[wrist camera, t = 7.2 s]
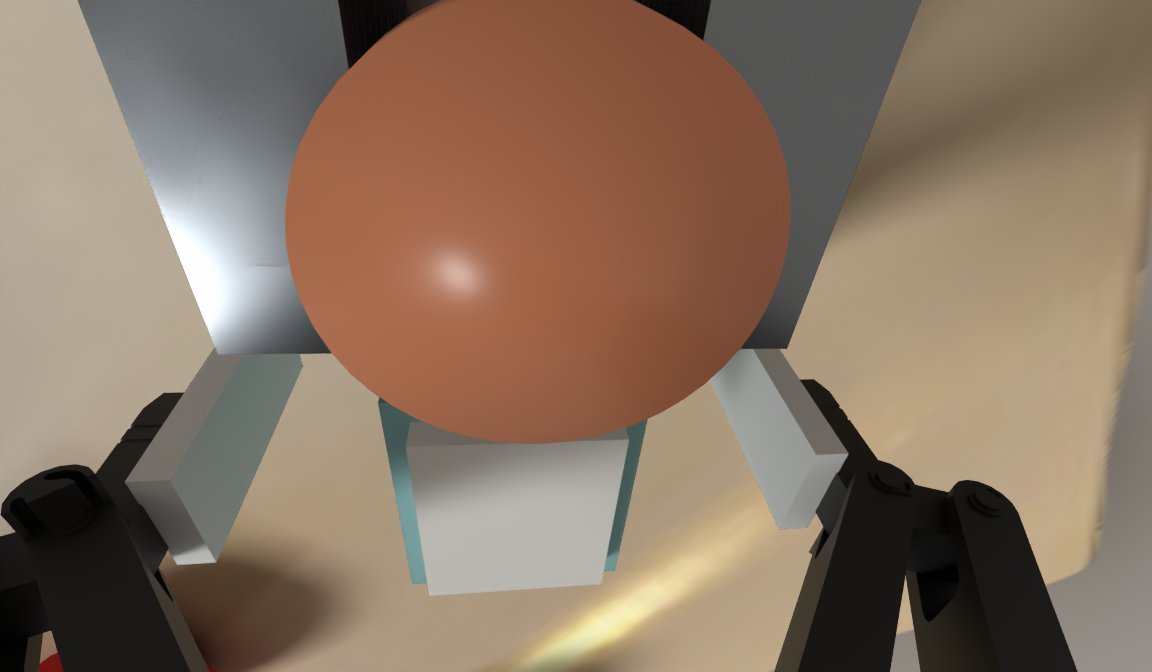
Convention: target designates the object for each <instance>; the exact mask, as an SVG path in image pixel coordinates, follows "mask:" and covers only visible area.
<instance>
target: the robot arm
mask: <svg viewBox="0 0 1152 672" xmlns="http://www.w3.org/2000/svg"><path fill="white" fill-rule="evenodd" d="M302 367H303V365H302V361H301V358H300V354H218V353H217V351H216V348H214V349H213V351H212V352H211V354H210V355H209V357H208V358H207V360H206V361H205V363H204V364H203V366H202V367H201V369H200V370H199V371H198V373H197V374H196V376H195V377H194V379H193V380H192V382H191V383H190V385H189V386H188V388H187V389H186V391H185V392H184V393H163V394H162V395H161V396H159V397H158V398H157V399H155V400H154V401H153V402H151V403H150V404H149V405H147V406H146V407H145V408H143V410H142V411H141V412H140V414H139V415H138V416H137V418H136V419H135V421H134V422H133V423H132V425H131V429H128V430H127V431H126V433H125V434H124V436H123V437H122V438H121V442H120V443H118V444H117V445H116V447H115V448H114V449H113V451H112V452H111V453H110V455H109V456H108V457H107V459H106V460H105V462H104V463H103V464H102V466H101V467H100V468H99V470H98V471H97V473H96V474H95V473H94V472H93V471H92V470H91V469H90V468H89V467H86V466H81V465H76V464H75V465H65V466H58V467H55V468H52V469H49V470H46V471H43V472H41V473H39V474H37V475H35V476H33V477H31V478H29V479H27V480H25V481H24V482H23V483H21V484H20V485H19V486H18V487H16V488H15V489H14V490H13V491H11V492H10V494H9V495H8V497H7V498H6V499H5V501H4V502H3V503H2V508H1V516H2V517H3V518H4V519H5V520H6V521H7V522H8V523H9V525H10V526H11V527H12V528H13V529H14V530H15V531H16V532H15V533H11V534H8V535H4V536H0V672H39V663H40V654H41V646H42V637H43V633H44V632H47V631H50V630H51V631H52V634H53V638H54V641H55V644H56V648H57V651H58V655H59V658H60V661H61V665H62V668H63V672H209V670H208V668H207V665H206V663H205V661H204V659H203V657H202V655H201V653H200V651H199V649H198V646H197V644H196V642H195V640H194V638H193V636H192V634H191V632H190V630H189V627H188V625H187V623H186V621H185V619H184V617H183V615H182V613H181V611H180V608H179V606H178V604H177V602H176V600H175V598H174V596H173V594H172V592H171V589H170V587H169V585H168V583H167V581H166V579H165V577H164V575H163V573H162V572H161V570H160V569H159V565H160V563H161V562H162V560H163V558H164V556H165V554H166V552H167V550H168V551H169V552H170V554H171V555H172V557H173V558H174V560H175V562H176V563H177V565H183V564H201V563H216V562H217V560H218V557H219V555H220V553H221V551H222V548H223V546H224V544H225V542H226V539H227V537H228V535H229V532H230V530H231V528H232V526H233V523H234V521H235V519H236V517H237V514H238V512H239V510H240V507H241V505H242V503H243V501H244V498H245V496H246V494H247V492H248V489H249V487H250V485H251V483H252V480H253V478H254V476H255V473H256V471H257V469H258V467H259V464H260V462H261V460H262V458H263V455H264V453H265V451H266V448H267V446H268V444H269V442H270V439H271V437H272V435H273V433H274V430H275V428H276V426H277V423H278V421H279V419H280V417H281V414H282V412H283V410H284V408H285V405H286V403H287V401H288V399H289V396H290V394H291V392H292V389H293V387H294V385H295V383H296V380H297V378H298V376H299V374H300V371H301V369H302ZM710 382H711V384H712V387H713V389H714V391H715V393H716V395H717V397H718V399H719V402H720V404H721V406H722V408H723V410H724V412H725V414H726V417H727V419H728V421H729V423H730V425H731V427H732V430H733V432H734V434H735V436H736V438H737V440H738V442H739V445H740V447H741V449H742V451H743V453H744V455H745V457H746V460H747V462H748V464H749V466H750V468H751V470H752V473H753V475H754V477H755V479H756V481H757V483H758V485H759V488H760V490H761V492H762V494H763V496H764V498H765V501H766V503H767V505H768V507H769V509H770V511H771V513H772V516H773V518H774V520H775V522H776V524H777V526H778V528H779V530H782V529H799V528H808V527H809V525H810V523H811V521H812V519H813V518H814V516H815V514H817V515H818V517H819V519H820V521H821V523H822V525H823V526H824V527H823V529H822V530H821V532H820V534H819V536H818V537H817V539H816V541H815V542H814V544H813V546H812V548H811V549H810V551H809V553H811V554H813V555H812V558H811V561H810V564H809V567H808V570H807V573H806V576H805V579H804V582H803V585H802V588H801V592H800V595H799V598H798V601H797V604H796V607H795V610H794V613H793V616H792V619H791V622H790V625H789V628H788V631H787V634H786V638H785V641H784V644H783V647H782V650H781V653H780V656H779V659H778V662H777V665H776V668H775V671H774V672H890V667H891V662H892V655H893V649H894V643H895V637H896V631H897V624H898V618H899V612H900V606H901V600H902V593H903V587H904V581H905V575H906V580H907V587H908V593H909V600H910V606H911V613H912V619H913V625H914V632H915V638H916V645H917V651H918V658H919V664H920V671H921V672H1077V669H1076V666H1075V664H1074V661H1073V658H1072V656H1071V653H1070V650H1069V648H1068V645H1067V642H1066V640H1065V637H1064V634H1063V632H1062V629H1061V626H1060V623H1059V621H1058V618H1057V615H1056V613H1055V610H1054V608H1053V605H1052V602H1051V599H1050V597H1049V594H1048V591H1047V589H1046V586H1045V583H1044V581H1043V578H1042V575H1041V573H1040V570H1039V567H1038V565H1037V562H1036V559H1035V556H1034V554H1033V551H1032V548H1031V546H1030V543H1029V540H1028V538H1027V535H1026V532H1025V530H1024V527H1023V524H1022V522H1021V519H1020V516H1019V514H1018V512H1017V510H1016V509H1015V507H1014V505H1013V504H1012V503H1011V502H1010V501H1009V500H1008V499H1007V498H1006V497H1005V496H1004V495H1003V494H1002V493H1000V492H998V491H997V490H995V489H994V488H992V487H990V486H988V485H985V484H983V483H980V482H977V481H971V480H964V481H959V482H957V483H956V484H955V485H954V486H953V488H952V489H951V490H950V492H945V491H940V490H936V489H931V488H927V487H922V486H918V485H915V484H914V482H913V481H912V479H911V478H910V477H909V476H908V475H907V474H906V473H904V472H903V471H902V470H901V469H899V468H897V467H895V466H894V465H892V464H889V463H886V462H883V461H880V460H878V459H877V458H876V456H875V455H874V454H873V452H872V451H871V449H870V448H869V447H868V445H867V444H866V442H865V441H864V440H863V438H862V437H861V435H860V434H859V433H858V431H857V430H856V428H855V427H854V425H853V424H852V423H851V421H850V420H848V419H847V418H848V417H847V416H846V414H845V413H844V411H843V410H842V409H840V408H839V404H838V403H837V402H836V400H835V399H834V397H833V396H832V394H831V393H830V392H829V391H828V390H827V389H825V388H824V387H823V386H822V385H820V384H819V383H818V382H816V381H815V380H814V379H810V380H799V378H798V377H797V375H796V373H795V372H794V370H793V369H792V367H791V366H790V364H789V363H788V361H787V360H786V358H785V357H784V355H783V354H782V352H781V351H780V349H739V351H738V352H737V353H736V354H735V355H734V356H733V357H732V358H731V359H730V360H729V362H728V363H727V364H726V365H725V366H724V367H723V368H722V369H721V370H720V371H719V372H717V373H716V374H715V375H714V376H713V377H712V378H711V379H710Z"/></svg>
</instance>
